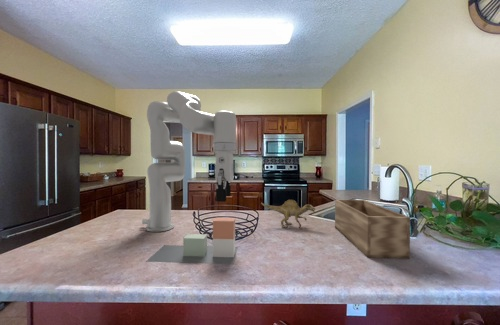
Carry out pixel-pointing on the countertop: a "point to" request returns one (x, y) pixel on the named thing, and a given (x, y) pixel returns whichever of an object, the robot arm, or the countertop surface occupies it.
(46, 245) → the countertop surface
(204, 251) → the sage brick
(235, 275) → the countertop surface
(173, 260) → the baseplate
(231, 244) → the offwhite brick
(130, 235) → the countertop surface
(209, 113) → the robot arm
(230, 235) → the terracotta brick
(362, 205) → the toy crate
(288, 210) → the dinosaur figurine
